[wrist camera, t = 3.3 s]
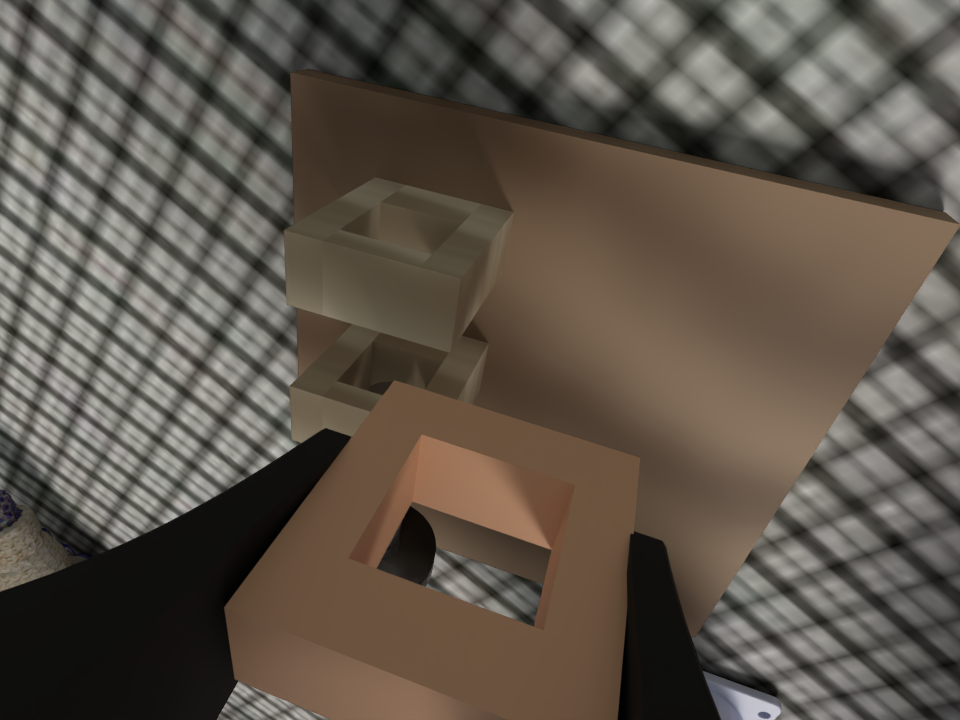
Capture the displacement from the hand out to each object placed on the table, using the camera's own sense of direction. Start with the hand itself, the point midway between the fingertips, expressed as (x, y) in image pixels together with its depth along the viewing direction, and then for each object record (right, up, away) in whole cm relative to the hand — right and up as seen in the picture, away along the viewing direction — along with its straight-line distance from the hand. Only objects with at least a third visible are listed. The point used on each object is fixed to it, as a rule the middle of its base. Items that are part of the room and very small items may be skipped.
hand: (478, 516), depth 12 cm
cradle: (+2, +2, +10) cm, 10 cm away
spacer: (+1, +1, +2) cm, 2 cm away
